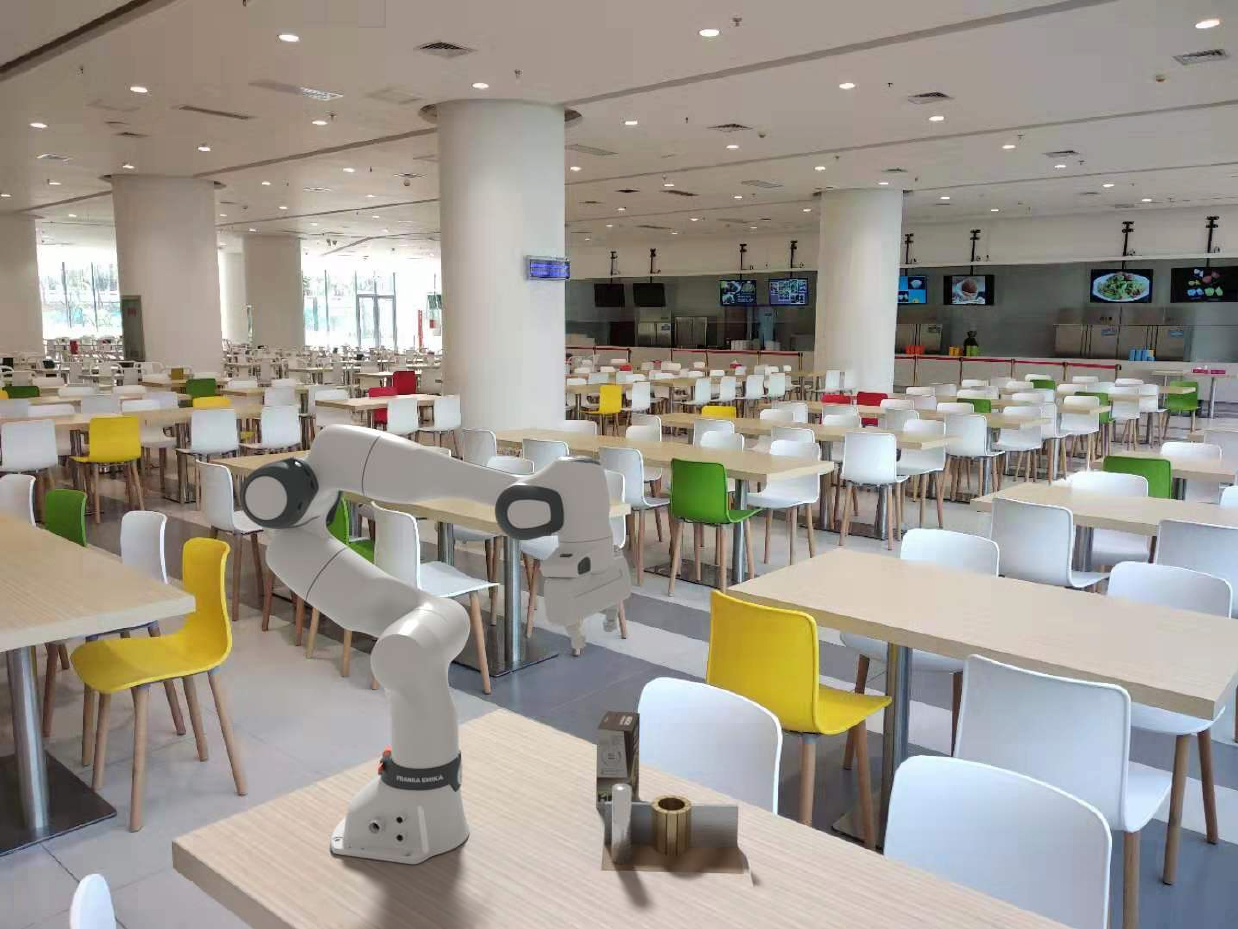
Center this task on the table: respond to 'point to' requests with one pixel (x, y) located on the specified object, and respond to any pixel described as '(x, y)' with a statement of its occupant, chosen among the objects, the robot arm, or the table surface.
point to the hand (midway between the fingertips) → (595, 639)
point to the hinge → (678, 824)
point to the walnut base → (677, 860)
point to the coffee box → (617, 755)
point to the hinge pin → (621, 824)
